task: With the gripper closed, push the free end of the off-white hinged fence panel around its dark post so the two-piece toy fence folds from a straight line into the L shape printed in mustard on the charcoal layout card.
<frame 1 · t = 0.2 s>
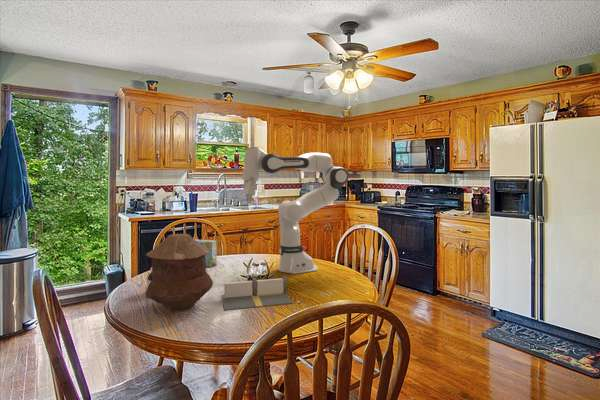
hand: (248, 202, 191), 39 cm above the table, tool pointing down, fingers open, 8 cm apart
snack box: (199, 265, 211), on the table
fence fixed: (254, 296, 157), resting on layout card
spread jar: (161, 291, 164), on the table
layout card: (256, 299, 153), on the table
hinged panel: (238, 289, 155), point 4 cm above the table, hinge at 0.0°
pottery vessel: (181, 307, 145), on the table
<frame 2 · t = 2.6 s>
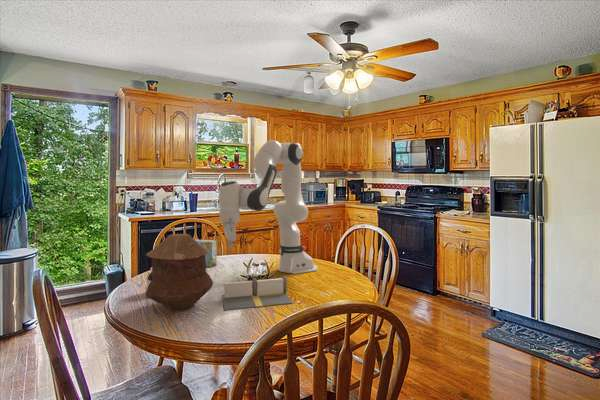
hand: (230, 248, 158), 21 cm above the table, tool pointing down, fingers closed
nothing on the table moved.
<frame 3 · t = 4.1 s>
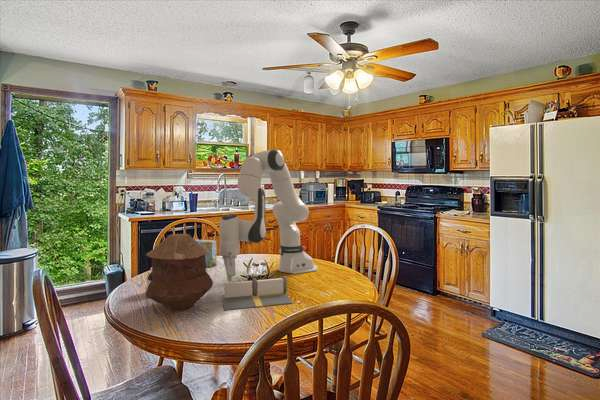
hand: (229, 280, 159), 6 cm above the table, tool pointing down, fingers closed
nothing on the table moved.
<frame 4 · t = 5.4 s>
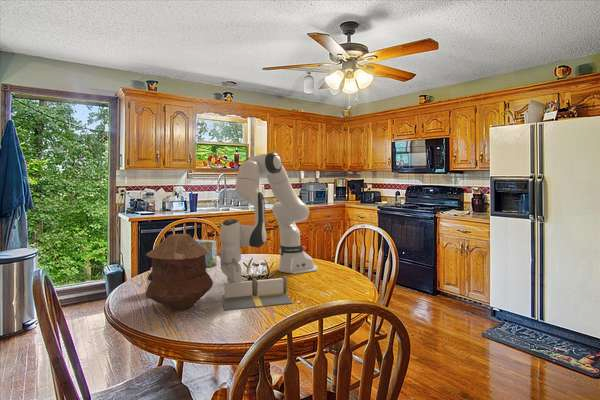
hand: (231, 287, 156), 4 cm above the table, tool pointing down, fingers closed
hinged panel: (238, 289, 155), point 4 cm above the table, hinge at 0.6°, touching gripper
everything else where it was.
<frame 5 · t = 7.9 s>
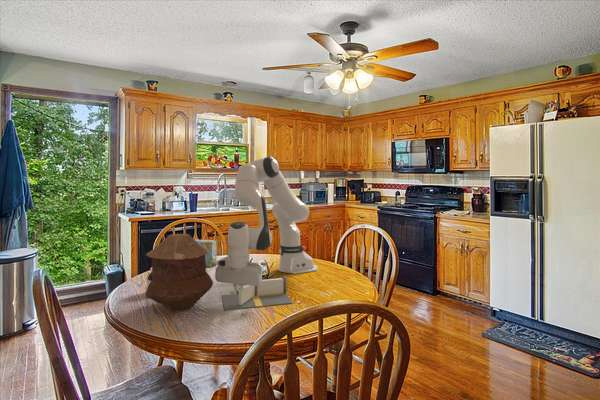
hand: (238, 293, 148), 4 cm above the table, tool pointing down, fingers closed
hinged panel: (247, 292, 150), point 4 cm above the table, hinge at 54.9°, touching gripper
everything else where it was.
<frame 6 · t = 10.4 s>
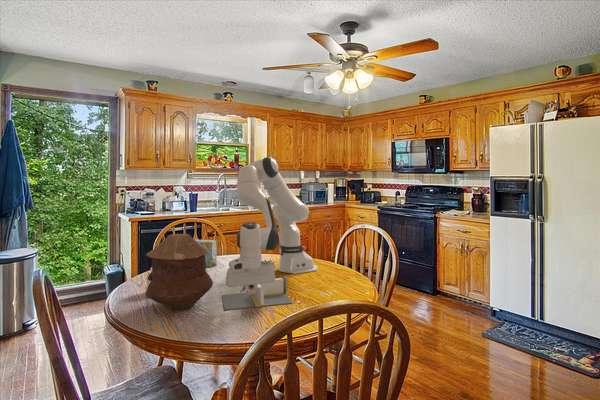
hand: (251, 294, 146), 4 cm above the table, tool pointing down, fingers closed
hinged panel: (258, 292, 150), point 4 cm above the table, hinge at 95.3°
everything else where it was.
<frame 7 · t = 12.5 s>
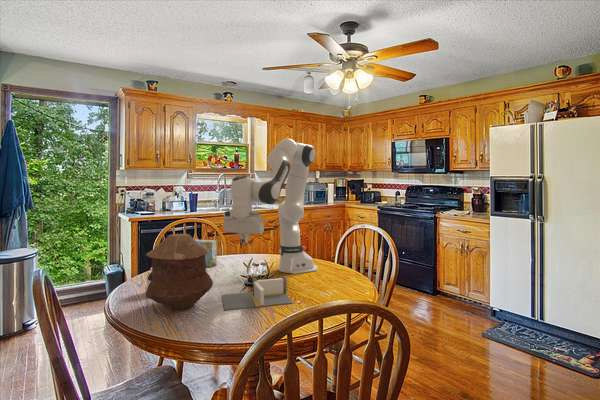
hand: (244, 242, 158), 24 cm above the table, tool pointing down, fingers closed
nothing on the table moved.
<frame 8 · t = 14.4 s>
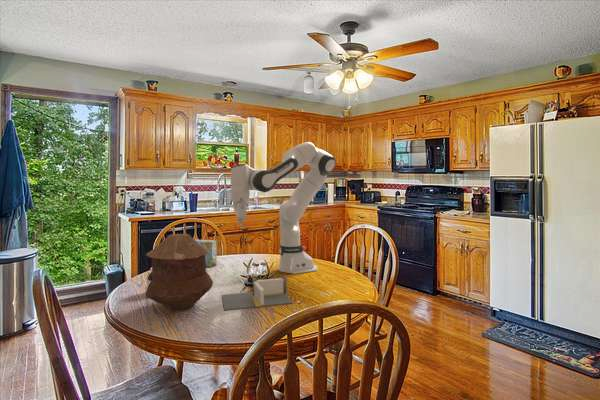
hand: (240, 226, 171), 29 cm above the table, tool pointing down, fingers closed
nothing on the table moved.
at the end: hinged panel at +95° (first picture: +0°) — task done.
